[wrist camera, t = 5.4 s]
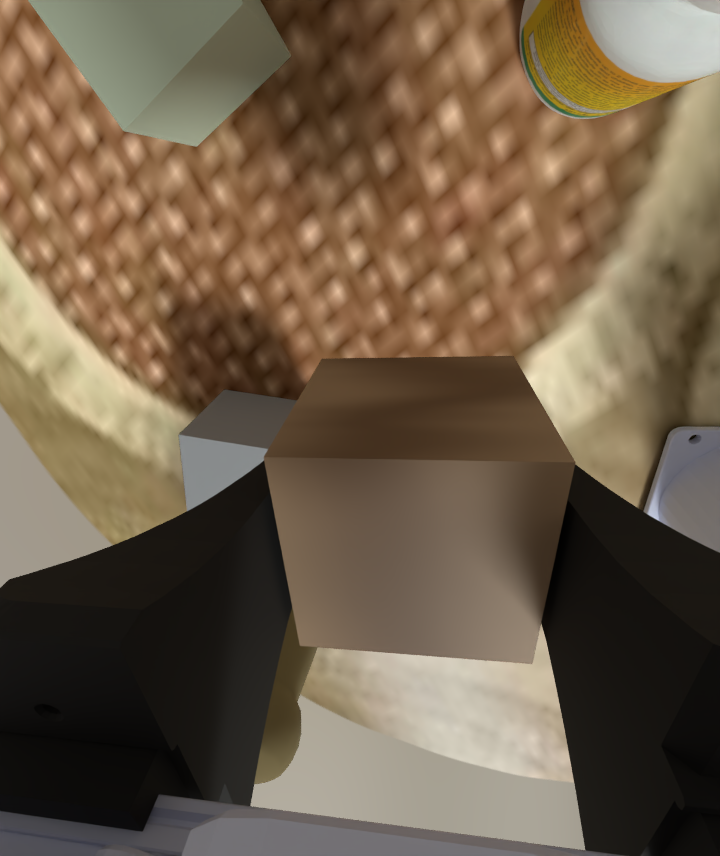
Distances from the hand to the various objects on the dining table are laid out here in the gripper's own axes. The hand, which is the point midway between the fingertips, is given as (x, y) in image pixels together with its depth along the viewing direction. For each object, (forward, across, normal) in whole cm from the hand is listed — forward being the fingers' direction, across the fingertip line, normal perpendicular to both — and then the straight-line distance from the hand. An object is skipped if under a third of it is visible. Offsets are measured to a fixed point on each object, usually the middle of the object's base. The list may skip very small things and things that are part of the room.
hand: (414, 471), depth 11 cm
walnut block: (+2, 0, 0) cm, 2 cm away
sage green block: (+10, +8, -12) cm, 18 cm away
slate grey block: (+10, +8, +5) cm, 14 cm away
